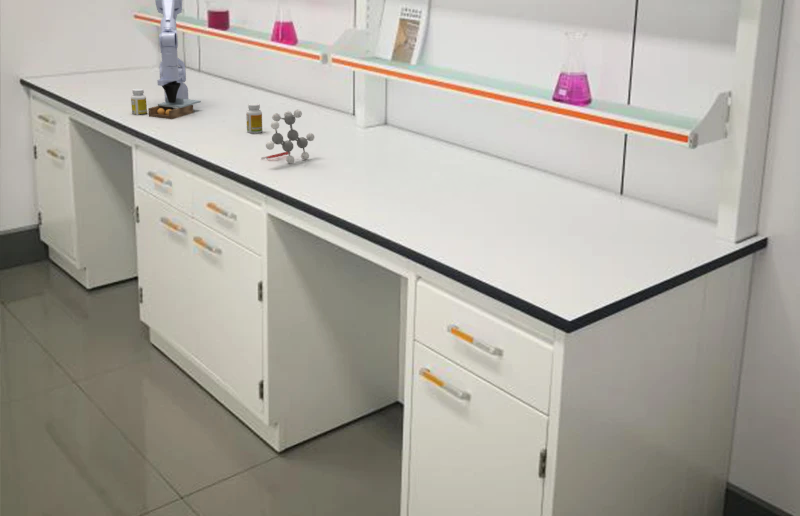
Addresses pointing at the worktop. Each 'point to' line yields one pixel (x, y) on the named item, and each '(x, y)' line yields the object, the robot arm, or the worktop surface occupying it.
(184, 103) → the lid
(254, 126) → the supplement bottle
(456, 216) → the worktop surface
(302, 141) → the molecule model
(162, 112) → the ball
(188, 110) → the case
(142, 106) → the supplement bottle
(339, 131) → the worktop surface
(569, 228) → the worktop surface
